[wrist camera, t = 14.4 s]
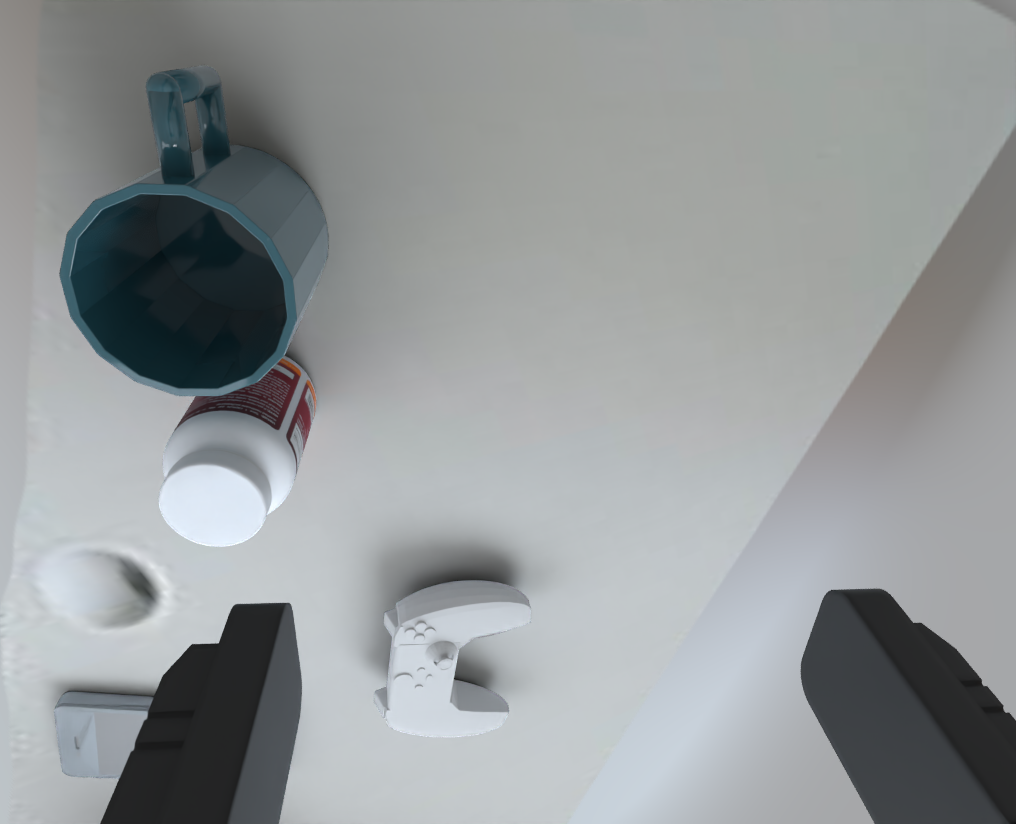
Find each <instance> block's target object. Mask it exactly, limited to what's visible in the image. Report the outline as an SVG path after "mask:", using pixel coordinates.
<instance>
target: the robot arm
mask: <svg viewBox="0 0 1016 824" xmlns="http://www.w3.org/2000/svg"><path fill="white" fill-rule="evenodd" d="M801 680H802V685H803V690H804V693H805V696H806V698H807V701H808V703H809V705H810V706H811V708H812V710H813V712H814V714H815V715H816V717H817V719H818V721H819V723H820V725H821V726H822V728H823V730H824V732H825V734H826V736H827V737H828V739H829V741H830V743H831V745H832V747H833V748H834V750H835V752H836V754H837V756H838V757H839V759H840V761H841V763H842V765H843V767H844V768H845V770H846V772H847V774H848V775H849V778H850V779H851V781H852V783H853V785H854V787H855V788H856V790H857V792H858V794H859V795H860V798H861V799H862V801H863V803H864V805H865V806H866V809H867V810H868V812H869V814H870V816H871V818H872V819H873V821H874V823H875V824H1016V720H1015V719H1014V718H1013V717H1012V716H1011V714H1010V713H1005V712H1004V710H1003V705H1002V704H1001V702H1000V701H999V700H998V699H997V698H996V696H995V695H994V694H993V693H992V692H991V690H990V689H989V688H988V687H987V686H983V685H982V680H981V678H979V676H978V675H977V673H976V672H975V671H974V670H973V669H972V668H971V666H970V665H969V664H968V663H967V661H966V660H965V659H964V658H963V657H962V655H961V654H960V653H959V652H958V651H957V649H955V648H954V647H952V646H951V645H950V644H949V643H947V642H946V641H945V640H943V639H942V638H941V637H939V636H938V635H937V634H935V633H934V632H932V631H931V630H930V629H929V628H927V627H926V626H925V625H923V624H922V623H913V622H912V621H911V620H910V618H909V617H908V616H907V615H906V613H905V612H904V611H903V610H902V608H901V607H900V606H899V605H898V603H897V602H896V601H895V600H894V598H893V597H892V596H891V595H890V594H889V593H888V592H886V591H884V590H882V589H850V590H849V589H847V590H831V591H829V592H828V593H826V595H825V596H824V598H823V600H822V603H821V606H820V609H819V612H818V615H817V617H816V620H815V623H814V626H813V629H812V632H811V634H810V637H809V640H808V643H807V646H806V649H805V652H804V654H803V658H802V662H801ZM301 697H302V680H301V670H300V662H299V655H298V648H297V640H296V633H295V625H294V618H293V611H292V607H291V604H290V603H261V604H236V605H234V606H233V608H232V609H231V611H230V614H229V616H228V619H227V622H226V625H225V628H224V630H223V633H222V636H221V639H220V642H219V644H192V645H191V646H190V647H189V648H188V649H187V650H186V651H185V652H184V653H183V655H182V656H181V657H180V658H179V659H178V660H177V661H176V662H175V663H174V664H173V665H172V666H171V668H170V669H169V670H168V671H167V672H166V673H165V674H164V675H163V677H162V679H161V681H160V684H159V686H158V689H157V691H156V693H155V696H154V698H153V700H152V703H151V705H150V707H149V710H148V716H147V719H146V720H144V722H143V724H142V726H141V729H140V731H139V734H138V736H137V738H136V741H135V747H134V750H133V751H131V752H130V755H129V757H128V760H127V762H126V764H125V767H124V769H123V771H122V774H121V776H120V778H119V781H118V783H117V786H116V788H115V790H114V793H113V795H112V797H111V800H110V802H109V804H108V807H107V809H106V812H105V814H104V816H103V819H102V821H101V823H100V824H279V819H280V814H281V809H282V804H283V799H284V794H285V789H286V784H287V779H288V774H289V769H290V764H291V759H292V754H293V749H294V744H295V739H296V734H297V729H298V724H299V718H300V710H301Z"/></svg>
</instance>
